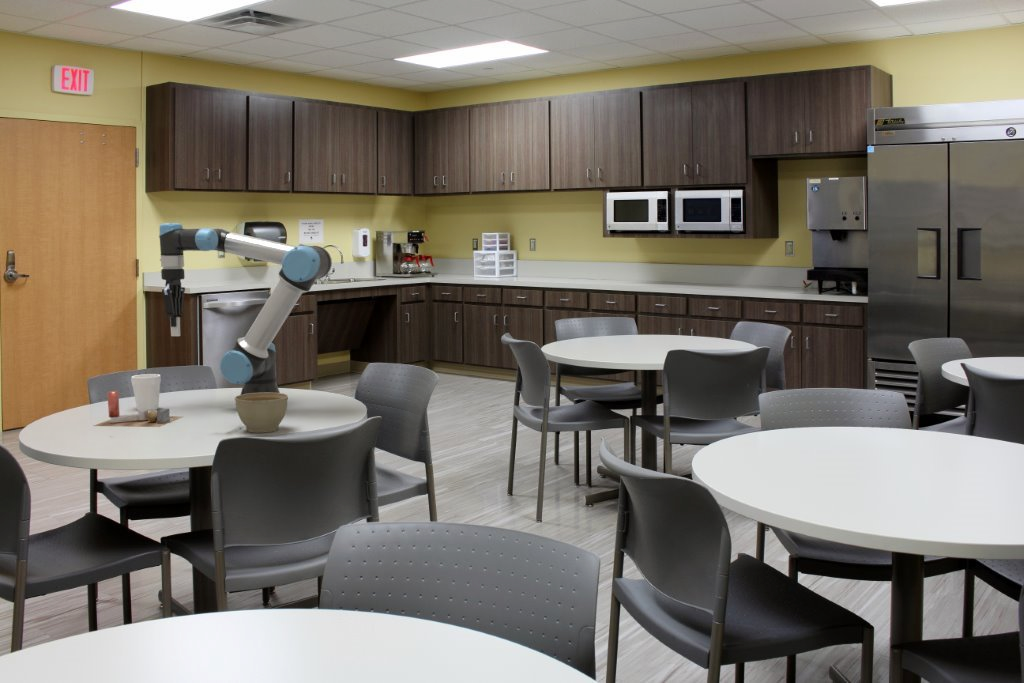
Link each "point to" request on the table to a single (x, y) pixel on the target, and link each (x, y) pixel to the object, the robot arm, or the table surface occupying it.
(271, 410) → the planter bowl
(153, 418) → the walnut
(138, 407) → the foam cup
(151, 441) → the table surface
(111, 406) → the lever
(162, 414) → the two-tone textured tile
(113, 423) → the board
